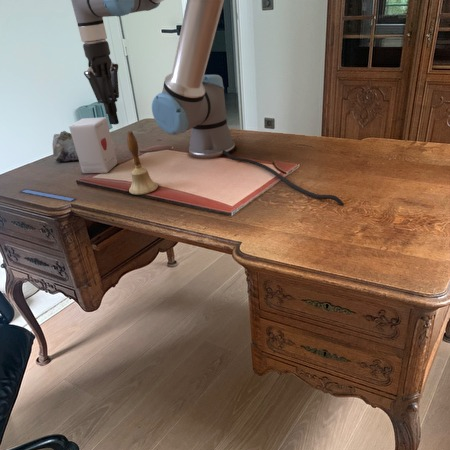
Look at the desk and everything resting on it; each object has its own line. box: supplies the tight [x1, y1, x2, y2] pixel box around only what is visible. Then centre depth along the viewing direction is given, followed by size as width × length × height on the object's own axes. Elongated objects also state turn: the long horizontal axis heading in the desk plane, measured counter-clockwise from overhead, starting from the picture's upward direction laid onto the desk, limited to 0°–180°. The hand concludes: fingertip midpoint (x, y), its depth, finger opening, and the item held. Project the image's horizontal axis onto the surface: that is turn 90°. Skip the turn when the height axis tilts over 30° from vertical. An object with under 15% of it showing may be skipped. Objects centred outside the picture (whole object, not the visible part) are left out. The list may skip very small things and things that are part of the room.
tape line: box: [21, 189, 75, 202], centre depth 129 cm, size 22×2×1 cm, turn 58°
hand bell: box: [126, 130, 159, 196], centre depth 121 cm, size 8×8×16 cm
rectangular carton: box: [68, 116, 118, 174], centre depth 140 cm, size 9×9×15 cm
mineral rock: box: [52, 130, 79, 163], centre depth 152 cm, size 13×11×10 cm
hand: (114, 123), depth 145 cm, fingers closed
